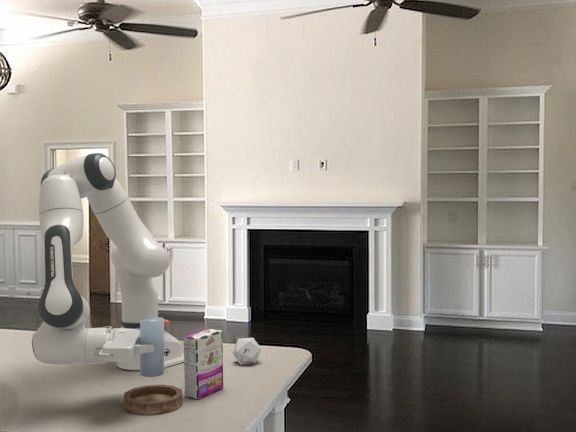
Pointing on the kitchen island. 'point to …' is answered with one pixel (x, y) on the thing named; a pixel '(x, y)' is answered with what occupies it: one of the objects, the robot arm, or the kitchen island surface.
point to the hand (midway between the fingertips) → (155, 344)
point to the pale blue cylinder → (154, 335)
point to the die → (246, 351)
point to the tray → (152, 399)
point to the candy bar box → (203, 363)
